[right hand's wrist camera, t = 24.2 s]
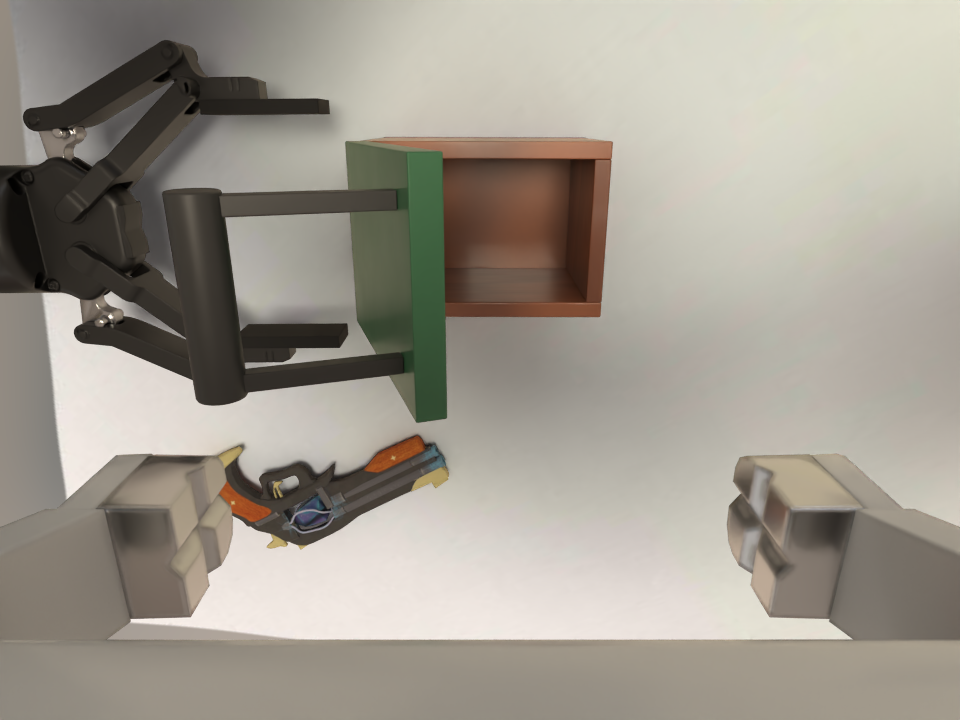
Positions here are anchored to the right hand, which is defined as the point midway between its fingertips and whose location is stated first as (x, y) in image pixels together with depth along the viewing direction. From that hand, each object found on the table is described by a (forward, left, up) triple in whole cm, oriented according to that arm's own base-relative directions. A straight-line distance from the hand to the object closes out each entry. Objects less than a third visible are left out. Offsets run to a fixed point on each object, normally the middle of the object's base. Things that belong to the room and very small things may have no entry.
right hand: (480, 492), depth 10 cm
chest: (0, 0, -37) cm, 37 cm away
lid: (+2, +3, -19) cm, 20 cm away
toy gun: (-11, +21, -37) cm, 44 cm away
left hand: (+4, +8, -30) cm, 31 cm away
